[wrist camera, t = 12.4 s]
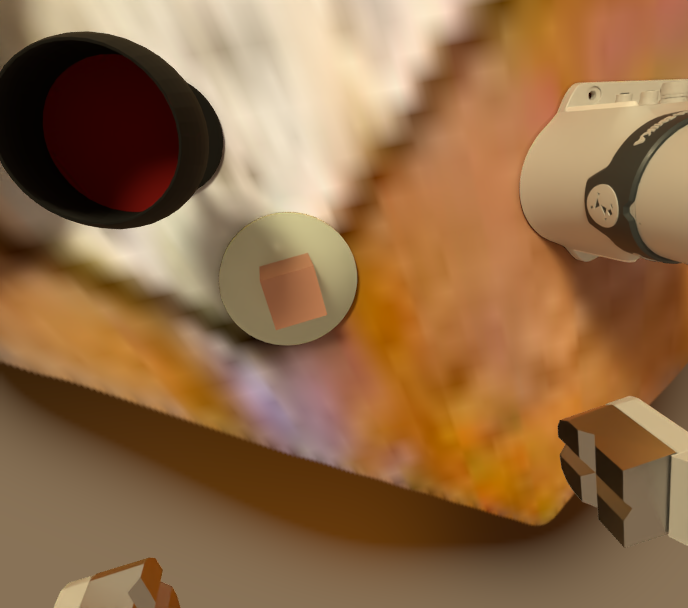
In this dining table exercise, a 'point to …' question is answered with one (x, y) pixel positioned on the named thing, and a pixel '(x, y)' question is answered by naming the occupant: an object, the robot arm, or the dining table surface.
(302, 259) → the orange cube
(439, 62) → the dining table surface
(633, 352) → the dining table surface
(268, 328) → the tile
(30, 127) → the wine glass
